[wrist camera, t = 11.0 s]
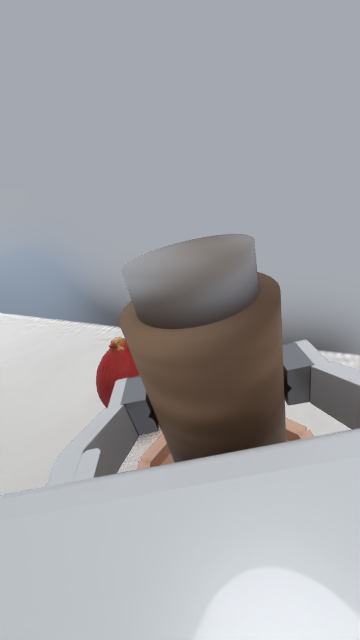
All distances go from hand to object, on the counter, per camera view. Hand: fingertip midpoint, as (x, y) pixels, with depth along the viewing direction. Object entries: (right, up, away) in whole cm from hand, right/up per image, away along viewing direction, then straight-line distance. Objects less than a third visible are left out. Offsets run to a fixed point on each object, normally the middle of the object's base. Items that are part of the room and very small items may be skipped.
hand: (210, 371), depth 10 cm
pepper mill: (+1, -6, +2) cm, 6 cm away
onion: (-4, -6, +11) cm, 13 cm away
